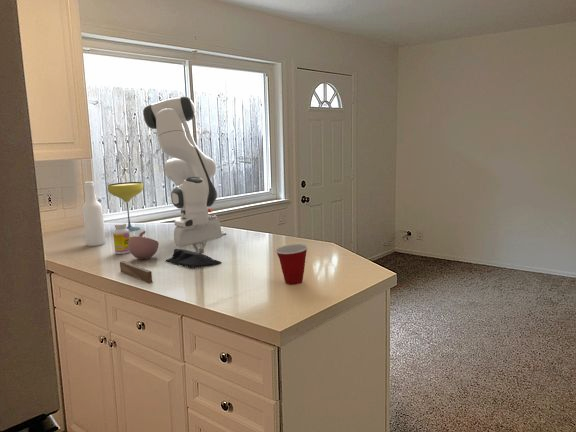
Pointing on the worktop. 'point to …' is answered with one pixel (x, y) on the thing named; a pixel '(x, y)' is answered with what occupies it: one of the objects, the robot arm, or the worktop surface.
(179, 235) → the robot arm
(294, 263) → the plastic cup
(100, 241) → the alcohol
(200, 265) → the dark slate chunk
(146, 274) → the brown wooden bar
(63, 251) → the worktop surface
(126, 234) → the supplement bottle
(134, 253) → the mortar and pestle
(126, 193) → the cocktail glass
